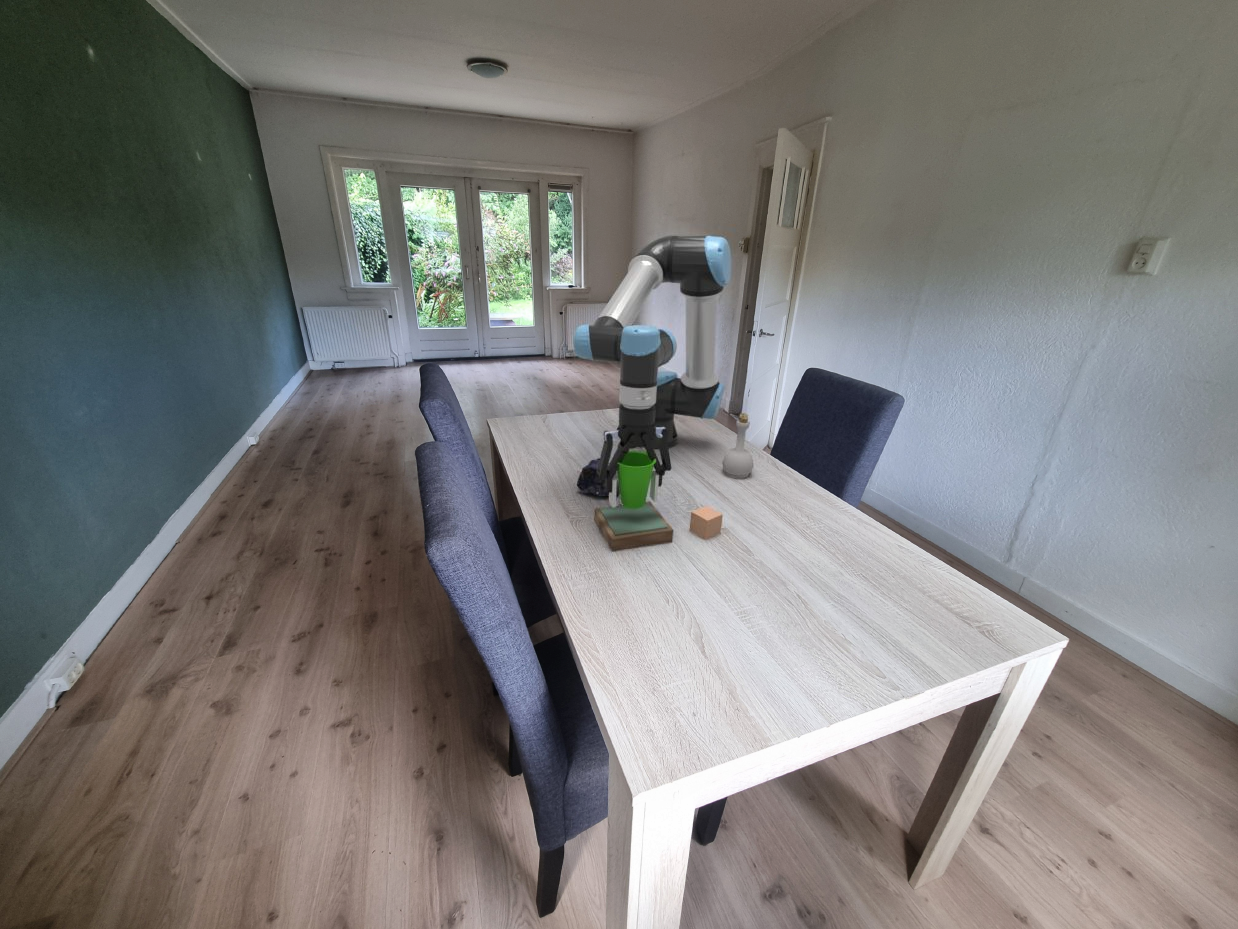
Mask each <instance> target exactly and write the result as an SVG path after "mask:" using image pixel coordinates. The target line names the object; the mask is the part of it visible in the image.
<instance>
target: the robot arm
mask: <svg viewBox="0 0 1238 929" xmlns="http://www.w3.org/2000/svg"><path fill="white" fill-rule="evenodd" d="M731 270H732V255H731V248H730V245H729V243H728V241H727V239H726V238H725V237H722V236H712V235H667V236H662V237H660V238H657V239H654V240H652V241H651V242H650V243H647V244H646V245H645V246H643V247H642V248H641V249H640V250H639V251H638V252H637V253H636V254H635V255H634V256H633V258H631V260H630V262H629V264H628V267H627V273H626V275H625V276H624V278H623V280H622V281H621V283H620V284H619V286H618V287H617V288H616V290H615V292H614V293H613V295H612V296H611V298H610V299H609V301H608V303H607V304H606V305H605V307H604V308H603V310H602V311H601V312H600V314H599V316H598V317H597V319H596V320H595V321H594V322H593V325H592V324H590V323H588V324H582V325H581V324H580V325H579V326H578V327H577V328H576V329H575V333H574V335H573V336H574V337H573V348H574V352H575V354H576V356H578V358H579V359H584V360H590V361H593V362H594V361H595V362H596V361H597V362H604V363H605V362H607V363H608V362H609V363H617V364H620V365H619V366H620V369H619V370H620V374H619V375H620V376H619V379H620V380H619V396H618V397H619V399H618V401H619V403H620V404H619V406H618V426H617V428H616V430H612V431H609V430H604V431H603V440H604V442H603V445H602V449H601V453H600V457H599V458H600V460H599V464H598V468H597V473H598V475H599V476H600V478H605V489H606V491H607V493H609V496H608V503H609V504H610V506H612V508H613V507H616V506H617V495H616V483H617V480H616V479H615V477H614V476H615V474H616V472H617V470H618V468H619V464H617V463H621V462H622V461H623V459H624V457H625V455H626V453H628V452H629V451H631V450H633V449H637V448H640V449H643V448H644V450H645V451H646V453H647V454H648V456H649V458H650V459H651V460H652V461H653V460H654V459H656V463H655V464H654V466H653V469H654V470H653V471H652V475H651V480H650V484H649V498H650V499H651V500H652V502H654V503H657V502H658V496H659V488H661V487H662V484H663V476H665V475H666V472H670V471H671V470H672V462H671V457H670V452H669V448H673V447H674V446H676V445H677V444H678V442H679V441H678V438H679V436H678V432H677V428H676V424H675V415H677V416H678V415H679V416H684V417H693V418H699V419H702V420H703V419H705V420H706V419H707V420H708V419H709V420H712V419H715V417H717V415H718V412H719V410H720V407H721V403H722V400H723V396H724V391H725V384H724V382H721V381H720V377H719V375H718V373H717V372H716V371H715V365H716V364H715V361H716V360H715V359H716V339H717V338H716V336H717V334H716V333H717V316H718V314H717V312H718V311H717V310H718V296H719V295H720V294H722V293H723V291H724V287H725V286H727V285H729V283H730V281H731ZM664 283H670V284H671V283H672V284H679V292H680V293H681V295H683V297H685V371H684V372H683V373H682V375H681V376H680V377H678V373H677V372H676V371H672V370H663V371H662V370H660V371H659V368H660V367H662V366H663V365H666V364H668V363H669V362H670V361H671V359H672V358H674V356H675V355H676V353H677V348H678V344H677V340H676V337H675V336H674V334H673V333H672V332H671V331H669V330H667V329H665V328H657V327H656V326H653V325H642V324H635V325H633V323H634V322H635V320H636V318H637V317H638V315H639V313H640V312H641V310H642V309H643V307H644V305H645V304H646V301H647V299H648V298H649V297H650V295H651V294H652V292H653V290H656V289H657V288H659V286H660V285H661V284H664ZM617 437H618V438H619V439H620V440H619V443H618V445H617V449H616V450H615V452H614V454H613V456H612V458H611V454H612V451H613V447H614V443H615V442H616V439H617ZM630 449H631V450H630ZM655 449H657V450H658V449H659V452H660V453H659V454H660V455H659V456H660V459H659V457H658V456H657V454H656V452H655ZM610 459H611V460H610ZM660 460H661V462H660ZM608 463H610V464H609V465H608Z"/></svg>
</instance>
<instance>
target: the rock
mask: <svg viewBox="0 0 1238 929" xmlns="http://www.w3.org/2000/svg"><path fill="white" fill-rule="evenodd" d="M599 460H600V457H598V458H596V459H592V460H590V461H589V463H588V464H587V465H585V466H584V467H582V468H581V472H580V473H579V475H578V479H577V481H576V482H577V483H576V486H577V489H578V490H579V491H581V492H582V493H584V494H587V495H591V496H593V495H597V496H599V497H605V496H608V497H609V493H607V491H606V489H605V478H600V476H599V475H598V473H597V468H598V464H599ZM609 464H610V462H609V463H608V465H609ZM614 477H615V479H616V480H617V483H616V496H617V495H619V494H620V488H619V481H618V473H617V472H616V474H615V476H614Z"/></svg>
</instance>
